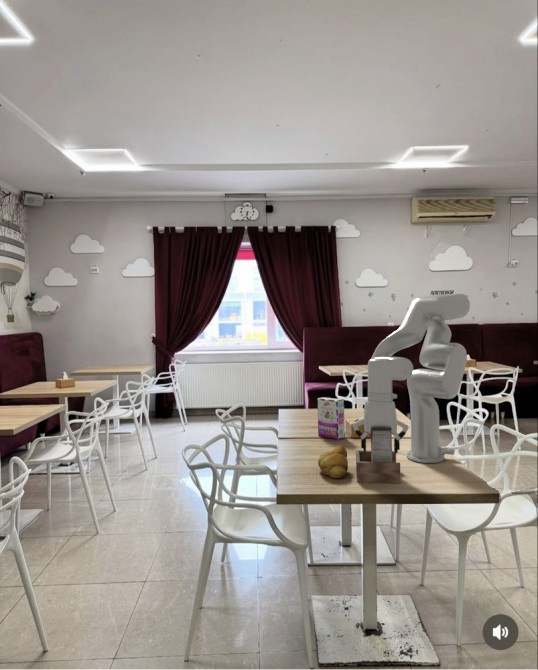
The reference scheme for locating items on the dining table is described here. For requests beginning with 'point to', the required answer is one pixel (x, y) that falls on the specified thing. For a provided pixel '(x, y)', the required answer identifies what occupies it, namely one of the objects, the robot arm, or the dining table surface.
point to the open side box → (376, 469)
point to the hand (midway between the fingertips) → (380, 451)
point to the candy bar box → (331, 418)
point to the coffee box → (381, 444)
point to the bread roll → (334, 462)
